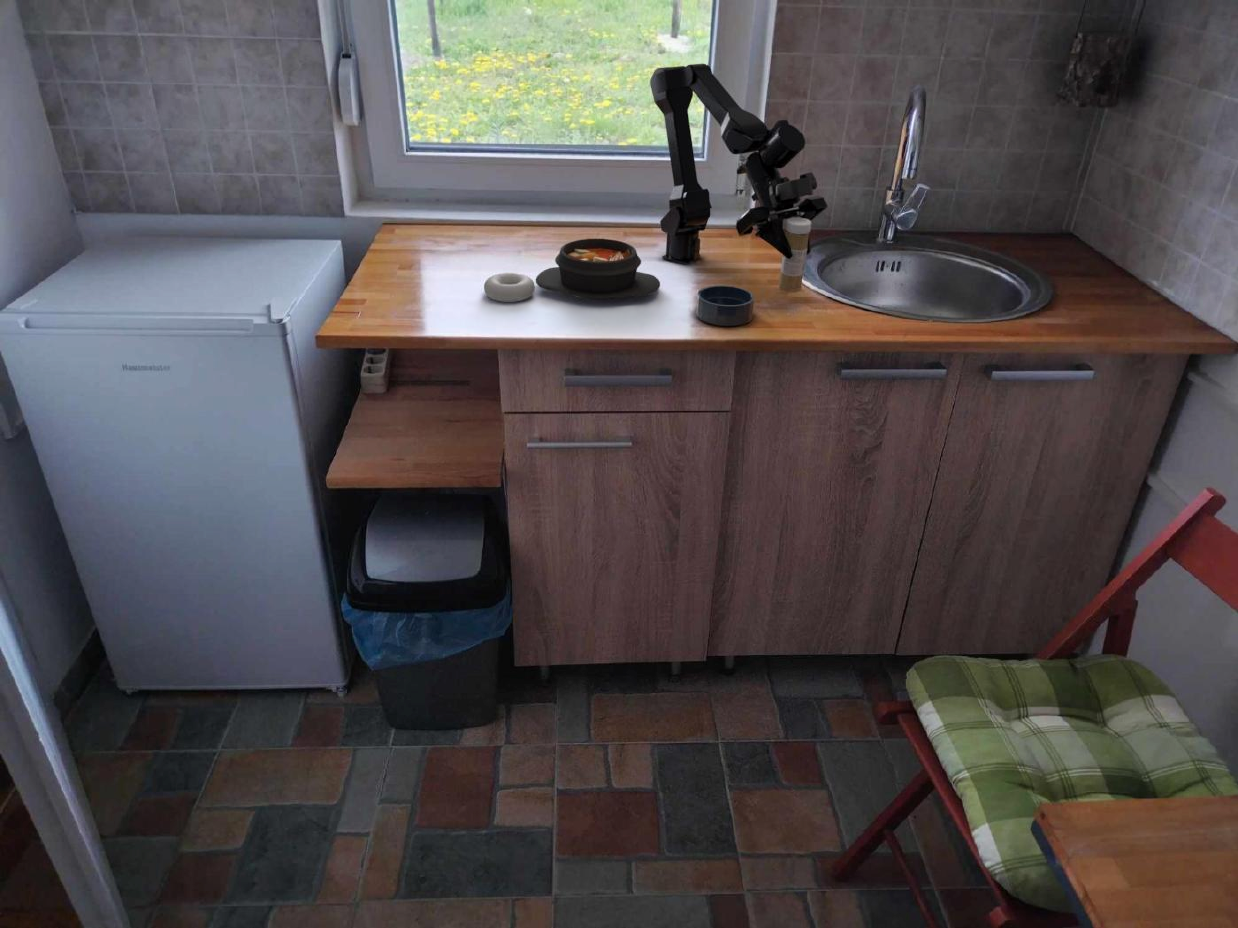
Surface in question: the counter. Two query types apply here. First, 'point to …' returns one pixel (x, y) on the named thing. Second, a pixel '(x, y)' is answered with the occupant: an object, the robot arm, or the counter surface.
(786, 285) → the sprinkles bottle
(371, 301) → the counter surface
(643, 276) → the casserole
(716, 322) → the bowl
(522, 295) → the donut
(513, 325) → the counter surface
